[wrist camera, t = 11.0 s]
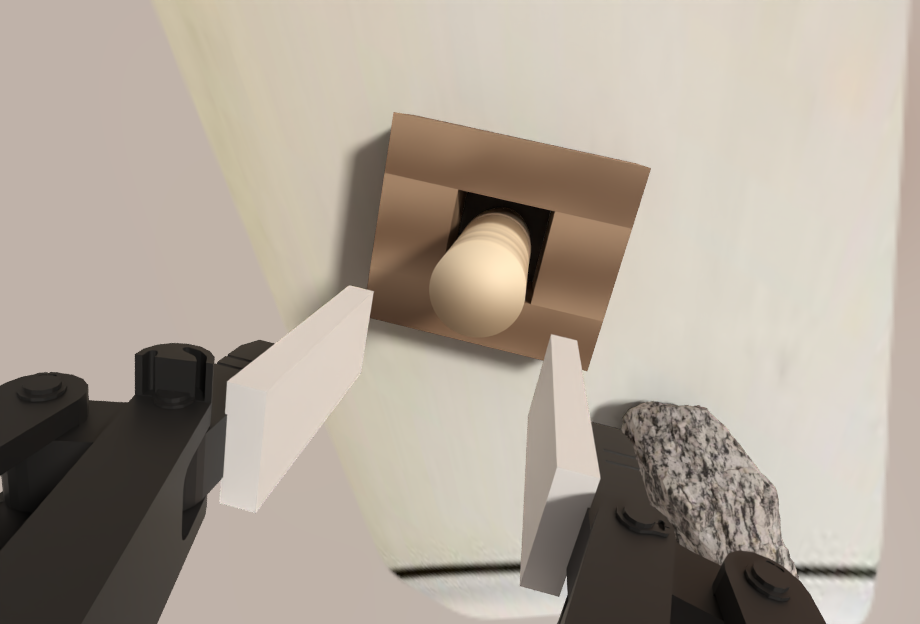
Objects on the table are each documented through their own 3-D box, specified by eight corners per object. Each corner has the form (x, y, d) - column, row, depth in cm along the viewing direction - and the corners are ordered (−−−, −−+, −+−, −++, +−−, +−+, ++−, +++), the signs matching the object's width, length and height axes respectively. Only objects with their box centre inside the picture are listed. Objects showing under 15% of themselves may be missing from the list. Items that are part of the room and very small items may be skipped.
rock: (760, 571, 40) (830, 679, 30) (645, 583, 42) (677, 690, 32) (725, 368, 39) (787, 414, 29) (607, 388, 40) (628, 438, 30)
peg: (477, 195, 35) (437, 233, 22) (539, 209, 35) (537, 256, 22) (464, 255, 36) (420, 325, 23) (524, 269, 36) (513, 348, 23)
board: (414, 115, 34) (393, 112, 29) (635, 163, 33) (650, 168, 28) (384, 293, 38) (362, 316, 33) (581, 340, 37) (587, 371, 32)
